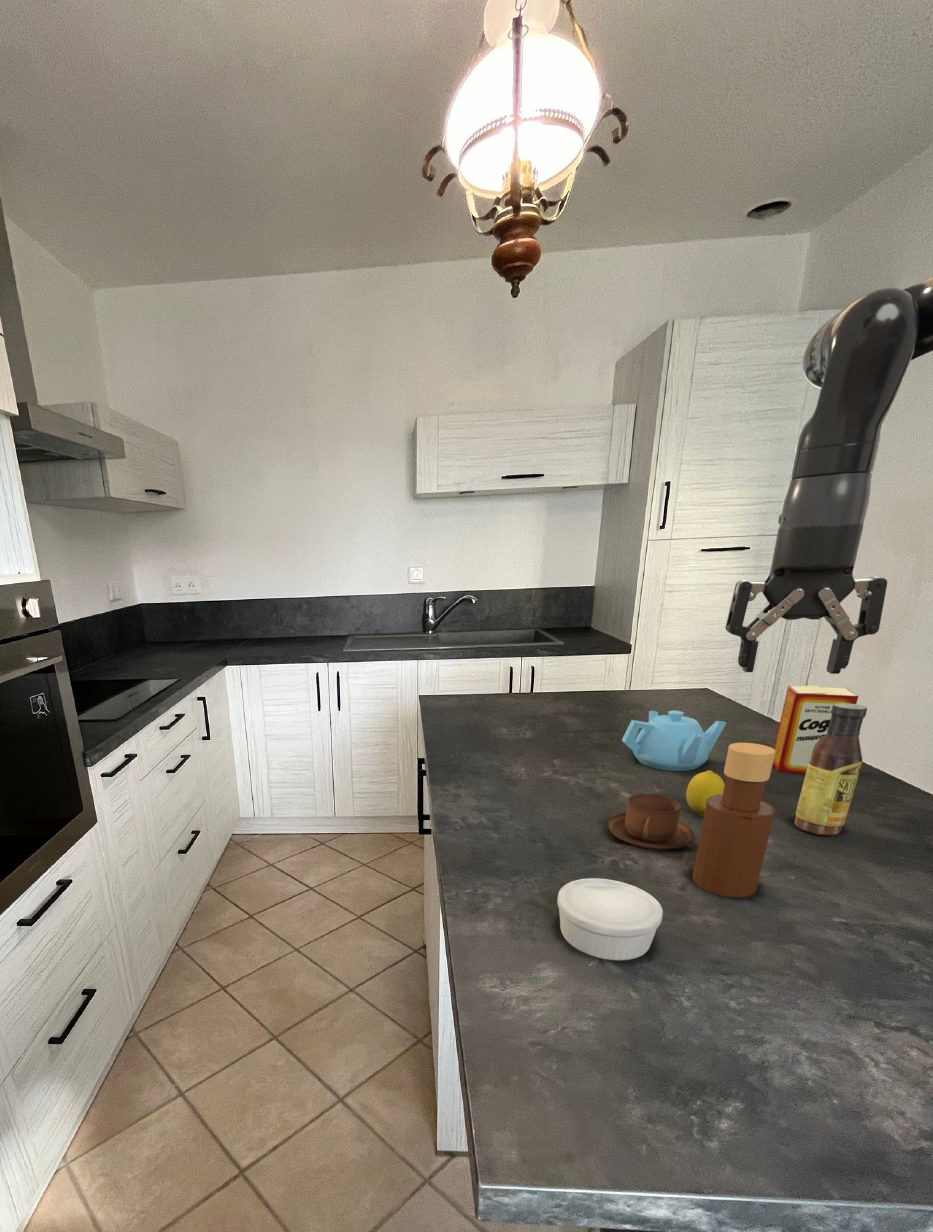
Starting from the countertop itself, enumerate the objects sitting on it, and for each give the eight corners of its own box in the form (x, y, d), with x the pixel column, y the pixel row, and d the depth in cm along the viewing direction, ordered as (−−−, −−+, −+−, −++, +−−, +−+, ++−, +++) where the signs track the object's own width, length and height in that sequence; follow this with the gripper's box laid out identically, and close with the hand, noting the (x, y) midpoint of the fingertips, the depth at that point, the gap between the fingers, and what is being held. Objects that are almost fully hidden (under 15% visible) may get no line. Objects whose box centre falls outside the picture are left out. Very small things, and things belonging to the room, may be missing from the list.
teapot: (646, 746, 139) (653, 699, 135) (720, 760, 129) (729, 709, 125) (616, 763, 129) (622, 712, 125) (693, 779, 119) (702, 725, 115)
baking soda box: (827, 765, 123) (847, 686, 118) (836, 776, 118) (858, 693, 112) (771, 761, 127) (788, 684, 121) (778, 771, 121) (796, 691, 116)
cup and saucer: (702, 860, 89) (709, 821, 87) (613, 853, 92) (618, 815, 90) (680, 825, 100) (686, 790, 98) (601, 820, 103) (605, 786, 101)
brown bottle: (747, 878, 84) (772, 768, 78) (760, 906, 78) (788, 788, 72) (688, 871, 87) (708, 763, 81) (696, 897, 80) (718, 782, 75)
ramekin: (630, 912, 78) (636, 875, 76) (675, 968, 67) (683, 927, 65) (541, 915, 78) (545, 878, 76) (572, 971, 67) (577, 930, 65)
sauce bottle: (832, 841, 93) (868, 713, 86) (785, 828, 98) (815, 705, 91) (848, 829, 97) (883, 705, 90) (802, 817, 102) (832, 698, 94)
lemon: (719, 824, 100) (729, 778, 97) (681, 818, 103) (689, 773, 100) (721, 812, 104) (730, 768, 102) (684, 806, 107) (691, 763, 104)
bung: (760, 785, 78) (769, 744, 76) (770, 799, 74) (780, 756, 72) (717, 781, 80) (725, 741, 78) (724, 795, 76) (733, 752, 74)
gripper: (752, 526, 66) (726, 677, 72) (918, 517, 61) (876, 679, 67) (737, 527, 73) (714, 665, 78) (886, 519, 68) (850, 667, 74)
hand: (789, 671), depth 73 cm, fingers open, 8 cm apart
